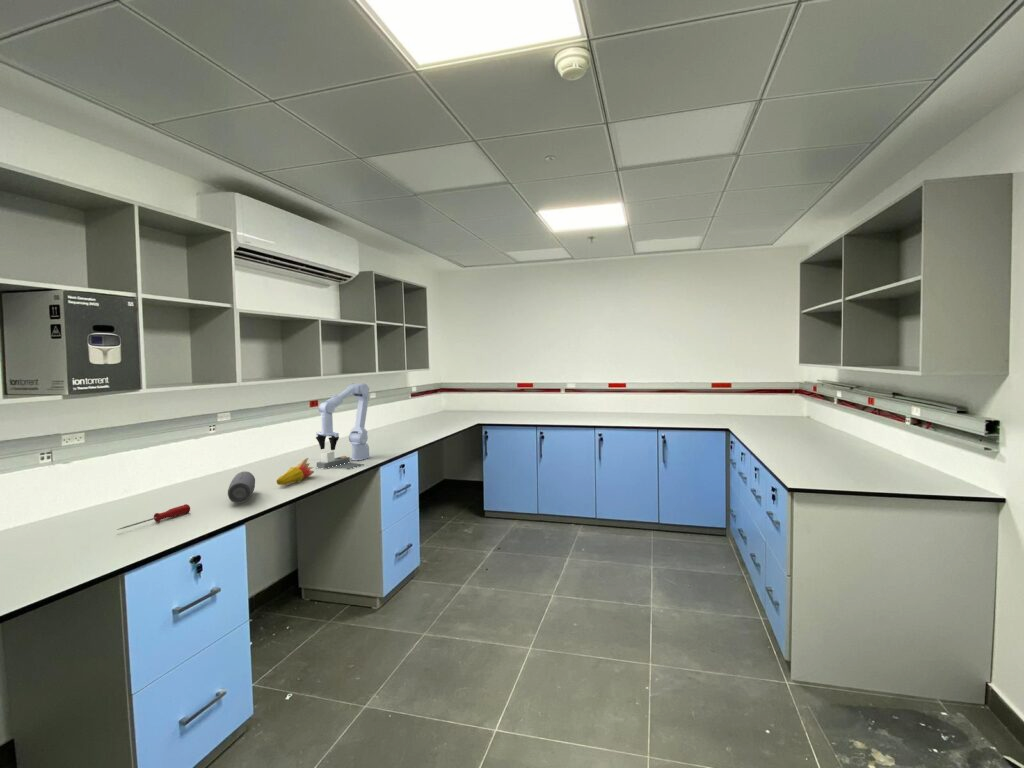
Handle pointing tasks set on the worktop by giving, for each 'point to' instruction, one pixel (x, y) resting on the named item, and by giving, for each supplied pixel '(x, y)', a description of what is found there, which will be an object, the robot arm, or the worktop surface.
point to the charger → (327, 456)
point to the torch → (296, 473)
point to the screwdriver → (166, 514)
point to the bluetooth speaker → (241, 487)
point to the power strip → (334, 462)
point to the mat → (348, 465)
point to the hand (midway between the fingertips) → (327, 449)
